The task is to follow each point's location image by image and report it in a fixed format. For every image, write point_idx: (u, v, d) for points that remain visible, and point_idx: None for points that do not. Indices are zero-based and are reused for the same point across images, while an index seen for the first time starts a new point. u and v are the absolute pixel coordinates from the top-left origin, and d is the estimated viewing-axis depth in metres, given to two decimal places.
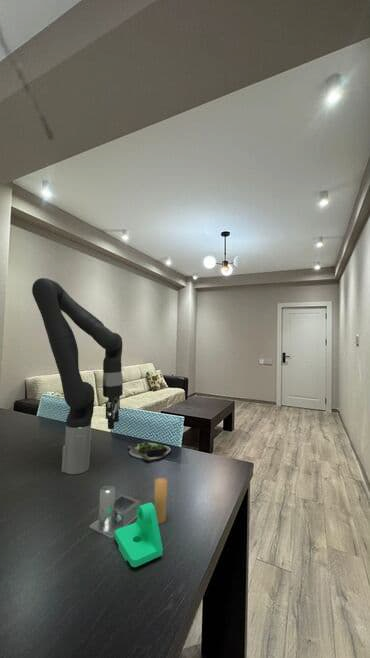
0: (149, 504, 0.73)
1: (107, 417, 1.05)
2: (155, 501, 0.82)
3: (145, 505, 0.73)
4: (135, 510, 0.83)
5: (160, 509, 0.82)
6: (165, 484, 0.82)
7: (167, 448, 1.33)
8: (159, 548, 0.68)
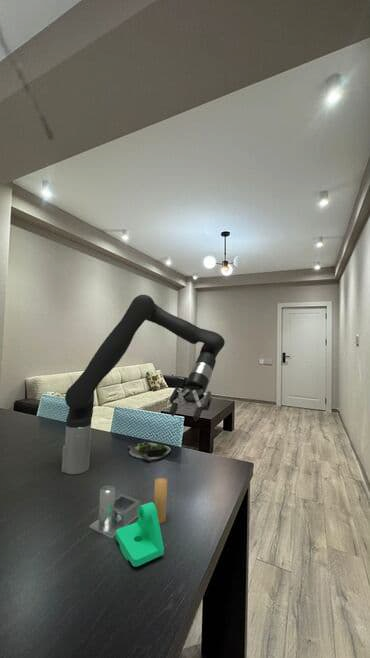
0: (150, 504, 0.74)
1: (206, 406, 0.94)
2: (155, 501, 0.82)
3: (146, 505, 0.73)
4: (135, 510, 0.83)
5: (160, 509, 0.82)
6: (165, 484, 0.82)
7: (167, 448, 1.33)
8: (160, 547, 0.69)
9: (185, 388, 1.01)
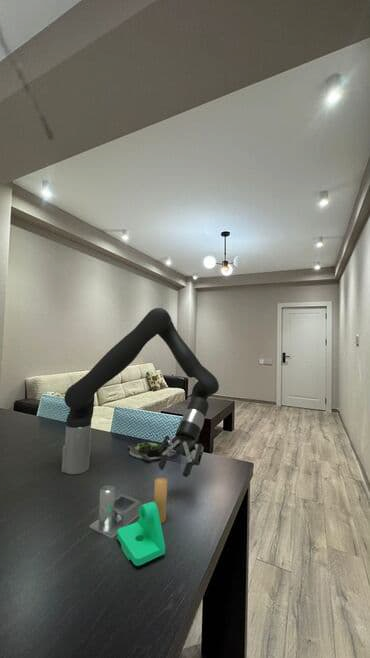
0: (151, 503, 0.74)
1: (197, 461, 0.89)
2: (155, 501, 0.82)
3: (147, 504, 0.73)
4: (135, 510, 0.83)
5: (160, 509, 0.82)
6: (165, 484, 0.82)
7: (167, 448, 1.33)
8: (162, 547, 0.69)
9: (175, 438, 0.96)
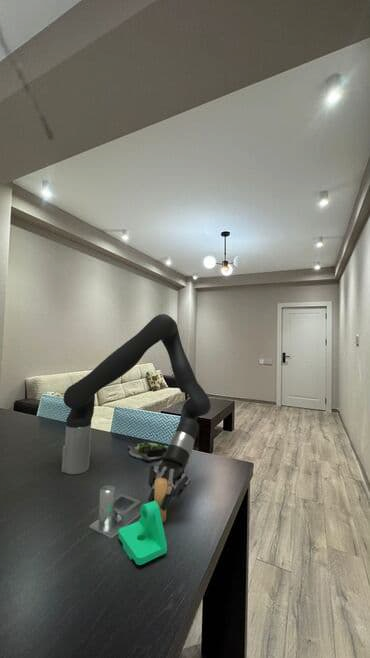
0: (153, 503, 0.74)
1: (177, 493, 0.82)
2: None
3: (149, 504, 0.74)
4: (135, 510, 0.83)
5: (160, 509, 0.82)
6: (165, 484, 0.82)
7: None
8: (164, 546, 0.69)
9: (162, 463, 0.90)
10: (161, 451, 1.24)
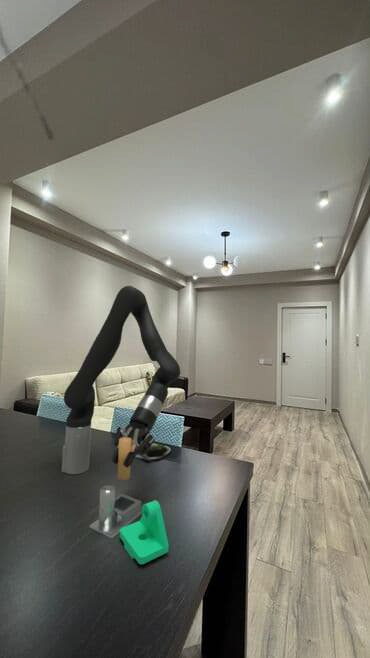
0: (154, 502, 0.74)
1: (140, 450, 0.83)
2: (119, 459, 0.83)
3: (150, 503, 0.74)
4: (135, 510, 0.83)
5: (123, 466, 0.83)
6: (129, 442, 0.83)
7: (167, 448, 1.33)
8: (165, 545, 0.70)
9: (128, 425, 0.91)
10: (161, 451, 1.24)
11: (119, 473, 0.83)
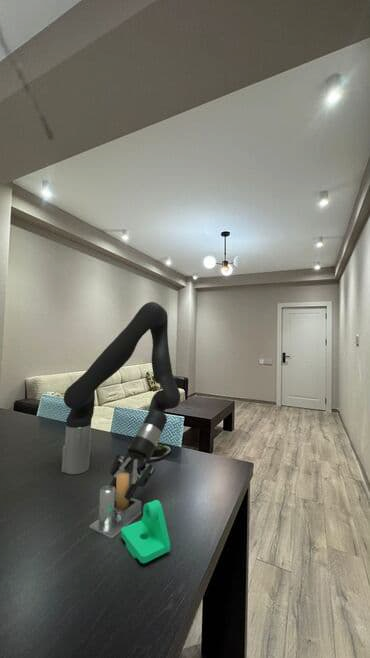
0: (155, 501, 0.75)
1: (142, 482, 0.83)
2: (117, 495, 0.83)
3: (152, 502, 0.74)
4: (135, 510, 0.83)
5: (121, 503, 0.82)
6: (126, 478, 0.83)
7: (167, 448, 1.33)
8: (167, 544, 0.70)
9: (127, 454, 0.90)
10: (161, 451, 1.24)
11: None
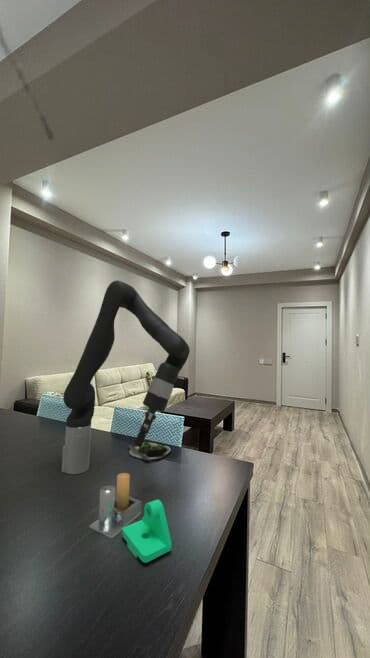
0: (157, 501, 0.75)
1: (142, 430, 0.85)
2: (117, 496, 0.83)
3: (153, 502, 0.74)
4: (135, 510, 0.83)
5: (121, 504, 0.82)
6: (127, 479, 0.83)
7: (167, 448, 1.33)
8: (168, 543, 0.70)
9: None
10: (161, 451, 1.24)
11: None
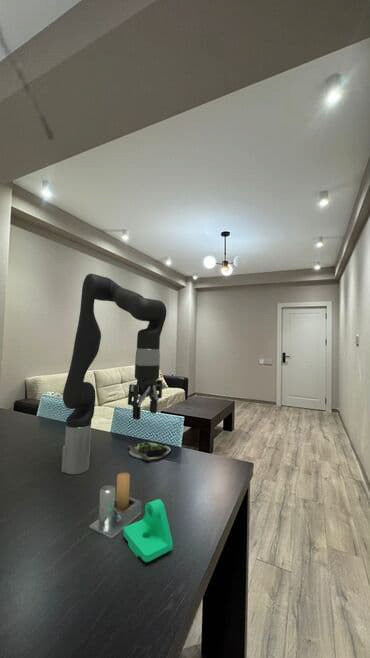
0: (158, 500, 0.75)
1: (129, 403, 0.83)
2: (117, 496, 0.83)
3: (154, 502, 0.75)
4: (135, 510, 0.83)
5: (122, 504, 0.82)
6: (127, 478, 0.83)
7: (167, 448, 1.33)
8: (169, 542, 0.70)
9: None
10: (161, 451, 1.24)
11: None
